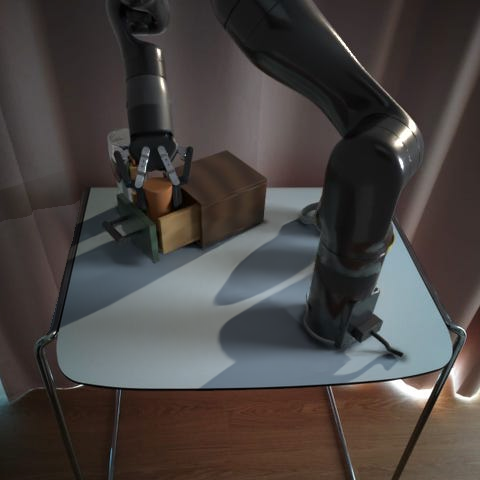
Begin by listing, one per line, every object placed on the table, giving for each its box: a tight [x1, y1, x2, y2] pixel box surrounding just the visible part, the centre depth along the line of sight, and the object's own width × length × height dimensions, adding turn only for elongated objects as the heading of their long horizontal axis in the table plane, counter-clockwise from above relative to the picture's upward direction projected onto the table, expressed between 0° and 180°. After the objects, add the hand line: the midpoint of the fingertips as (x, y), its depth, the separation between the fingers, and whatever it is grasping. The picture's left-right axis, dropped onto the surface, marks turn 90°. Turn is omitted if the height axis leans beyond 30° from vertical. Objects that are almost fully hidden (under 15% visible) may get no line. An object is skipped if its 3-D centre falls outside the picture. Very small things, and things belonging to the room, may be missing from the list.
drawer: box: [101, 190, 200, 264], centre depth 89 cm, size 18×11×8 cm, turn 127°
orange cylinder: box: [143, 176, 174, 231], centre depth 87 cm, size 5×5×8 cm
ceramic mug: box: [299, 195, 322, 233], centre depth 95 cm, size 11×8×8 cm
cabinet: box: [162, 149, 268, 249], centre depth 94 cm, size 15×13×10 cm
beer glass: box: [106, 127, 149, 202], centre depth 94 cm, size 7×7×15 cm
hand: (160, 209), depth 85 cm, fingers closed on orange cylinder, 4 cm apart
